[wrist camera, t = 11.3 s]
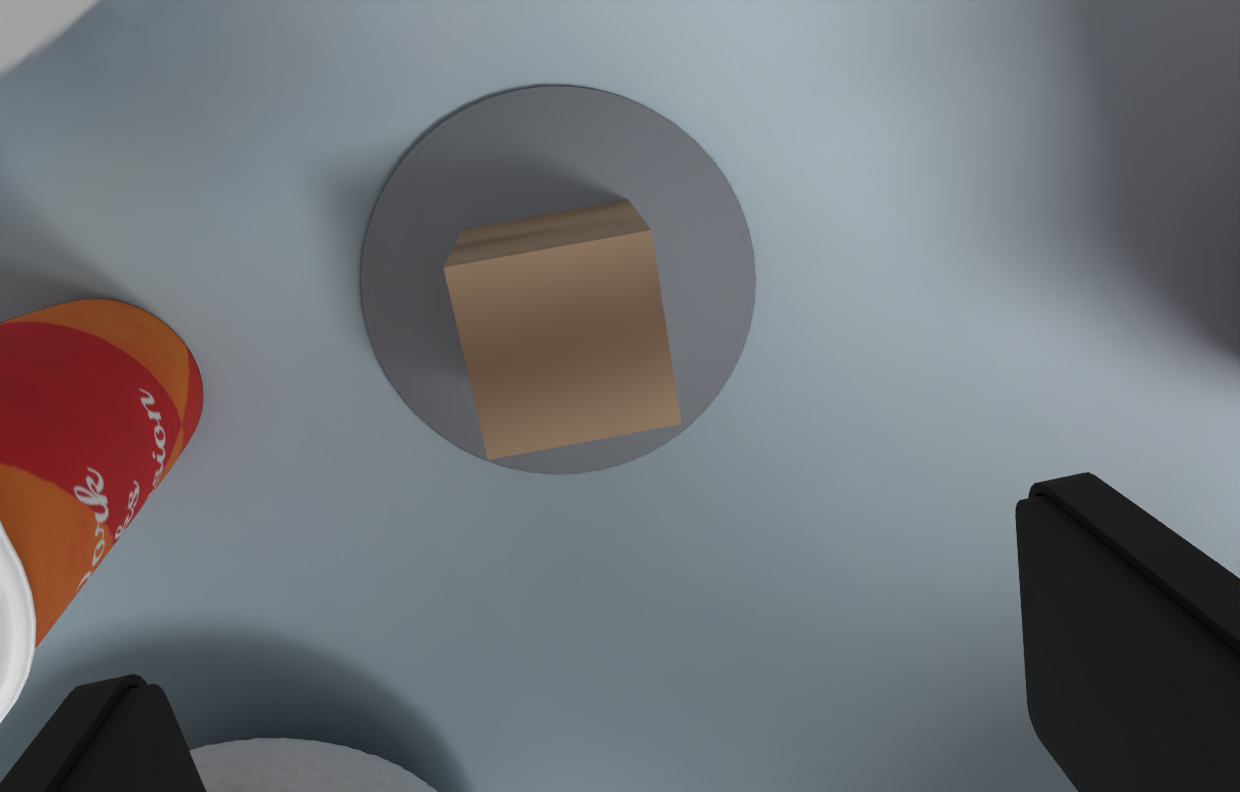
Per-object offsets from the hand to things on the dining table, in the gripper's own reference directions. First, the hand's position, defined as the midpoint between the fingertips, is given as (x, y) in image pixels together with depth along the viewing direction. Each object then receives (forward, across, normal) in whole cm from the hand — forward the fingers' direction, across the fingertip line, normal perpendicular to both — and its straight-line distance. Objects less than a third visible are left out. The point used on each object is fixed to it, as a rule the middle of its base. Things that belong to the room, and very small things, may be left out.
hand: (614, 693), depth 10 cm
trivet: (+20, 0, 0) cm, 20 cm away
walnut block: (+20, 0, 0) cm, 20 cm away
